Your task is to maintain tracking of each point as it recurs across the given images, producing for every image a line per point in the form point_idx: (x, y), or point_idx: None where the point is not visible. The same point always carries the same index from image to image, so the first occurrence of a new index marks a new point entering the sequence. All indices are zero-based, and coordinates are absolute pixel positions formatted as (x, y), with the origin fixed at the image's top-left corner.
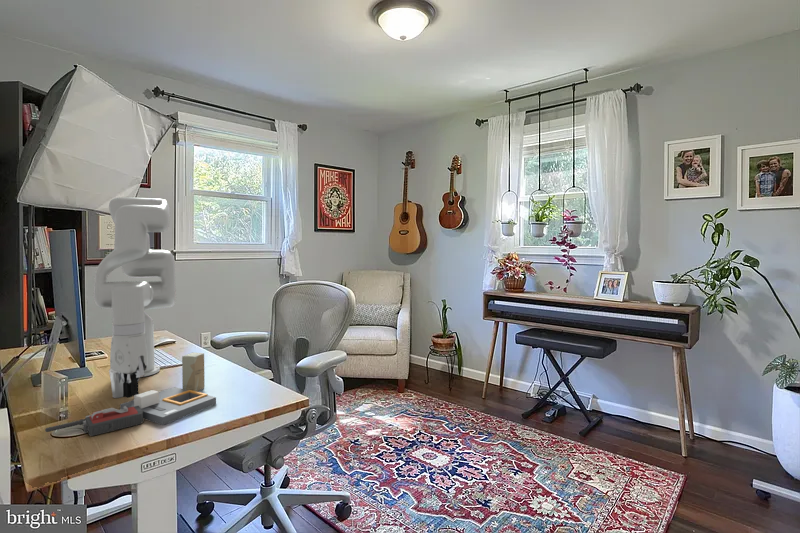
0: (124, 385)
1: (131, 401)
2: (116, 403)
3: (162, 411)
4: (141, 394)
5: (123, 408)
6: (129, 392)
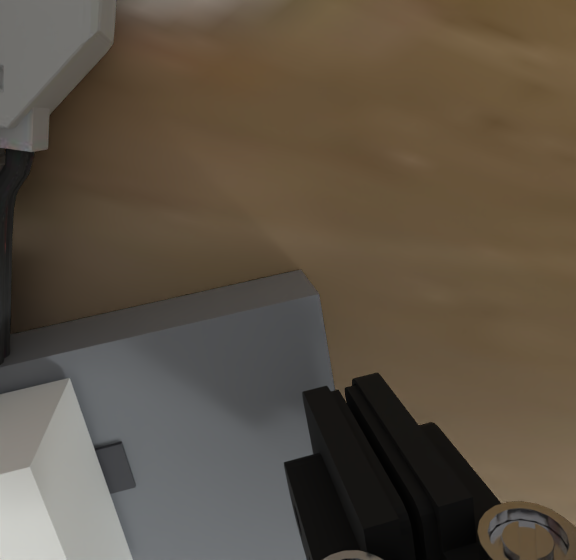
0: (417, 479)
1: None
2: (549, 312)
3: None
4: (1, 553)
5: (250, 296)
6: (322, 455)
